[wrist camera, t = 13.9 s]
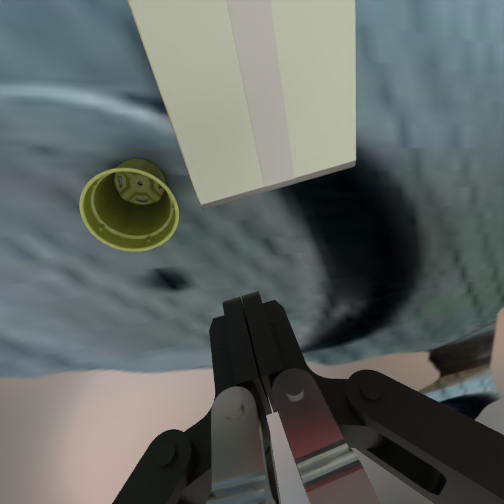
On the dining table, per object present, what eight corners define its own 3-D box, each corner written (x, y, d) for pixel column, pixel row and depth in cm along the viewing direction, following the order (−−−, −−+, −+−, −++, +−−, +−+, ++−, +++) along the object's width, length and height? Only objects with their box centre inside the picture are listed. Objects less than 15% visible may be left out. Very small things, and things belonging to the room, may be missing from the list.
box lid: (202, 206, 29) (203, 212, 28) (124, -17, 20) (121, -21, 19) (350, 164, 30) (356, 168, 29) (346, -74, 20) (355, -81, 19)
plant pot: (180, 216, 41) (180, 250, 34) (106, 216, 38) (89, 253, 31) (177, 146, 35) (177, 169, 28) (92, 142, 33) (68, 166, 26)
